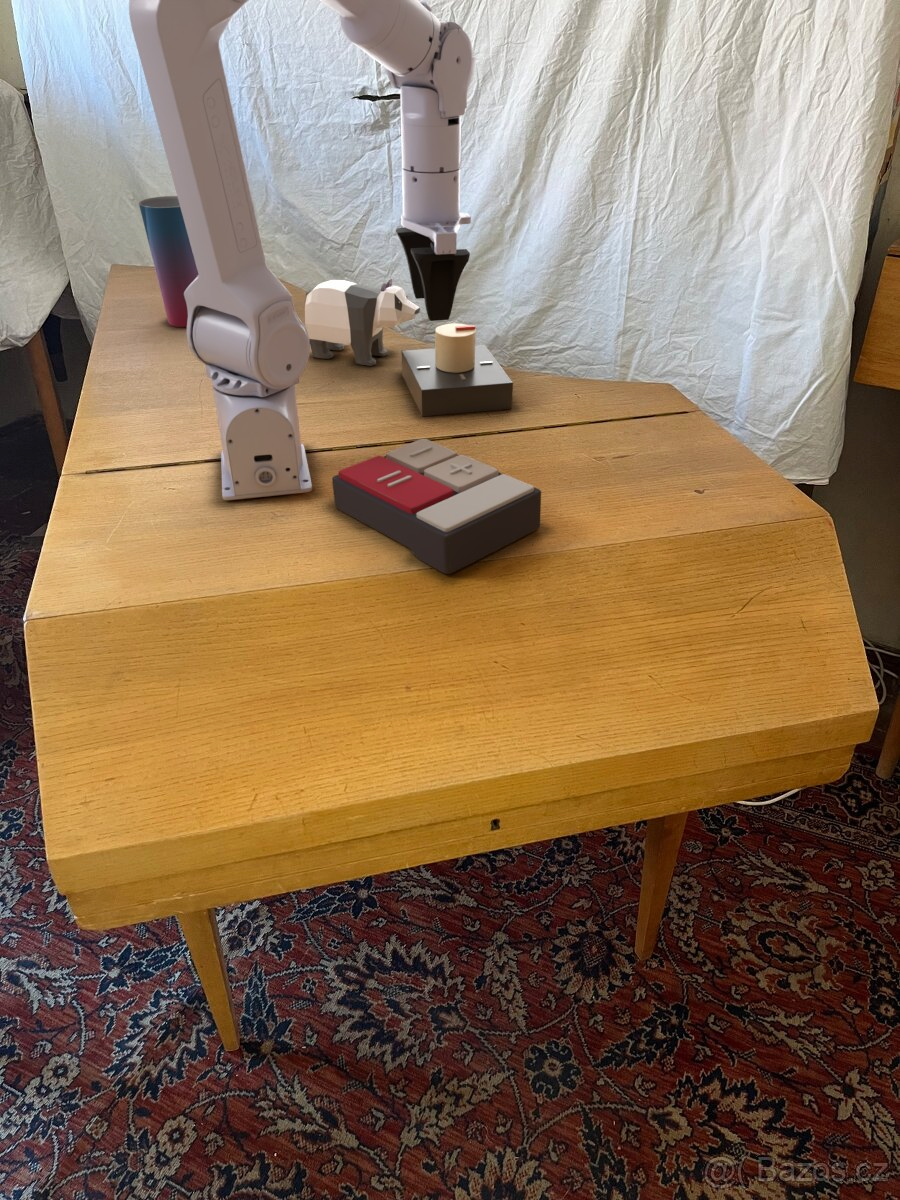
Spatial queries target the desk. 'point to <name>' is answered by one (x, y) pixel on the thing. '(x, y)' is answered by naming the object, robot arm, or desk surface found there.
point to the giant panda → (354, 317)
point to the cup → (170, 254)
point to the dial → (455, 347)
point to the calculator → (438, 503)
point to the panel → (456, 384)
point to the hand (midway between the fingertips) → (431, 308)
